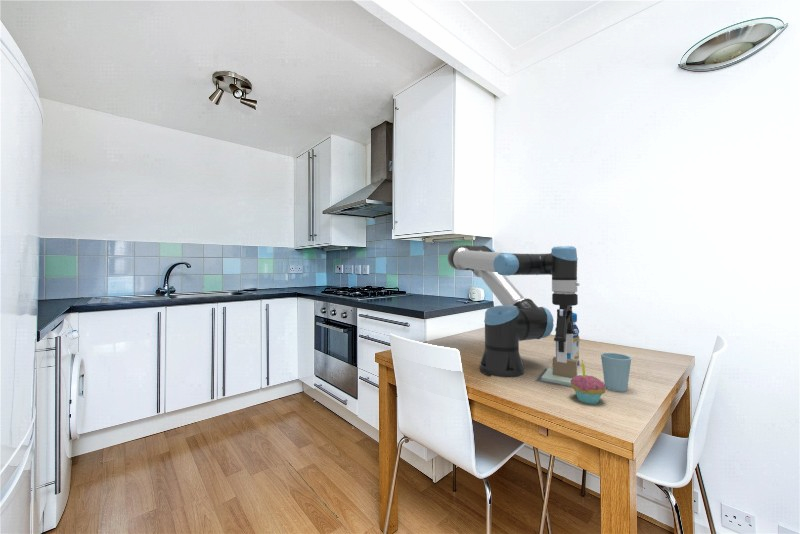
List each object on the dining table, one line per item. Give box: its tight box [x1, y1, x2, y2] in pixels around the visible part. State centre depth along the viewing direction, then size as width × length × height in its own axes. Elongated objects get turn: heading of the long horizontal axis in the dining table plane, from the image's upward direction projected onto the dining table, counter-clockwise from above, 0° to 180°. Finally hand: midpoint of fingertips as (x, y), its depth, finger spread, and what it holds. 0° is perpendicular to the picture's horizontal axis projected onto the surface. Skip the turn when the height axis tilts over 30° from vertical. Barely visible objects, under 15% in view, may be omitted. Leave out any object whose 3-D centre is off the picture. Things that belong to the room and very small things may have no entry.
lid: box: [541, 356, 589, 386], centre depth 105 cm, size 12×12×6 cm
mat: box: [535, 368, 573, 389], centre depth 105 cm, size 15×15×1 cm
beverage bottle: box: [554, 312, 581, 368], centre depth 122 cm, size 8×8×20 cm
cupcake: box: [571, 359, 607, 405], centre depth 89 cm, size 9×8×12 cm
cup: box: [600, 352, 632, 393], centre depth 97 cm, size 8×8×10 cm
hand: (565, 357), depth 105 cm, fingers open, 13 cm apart
